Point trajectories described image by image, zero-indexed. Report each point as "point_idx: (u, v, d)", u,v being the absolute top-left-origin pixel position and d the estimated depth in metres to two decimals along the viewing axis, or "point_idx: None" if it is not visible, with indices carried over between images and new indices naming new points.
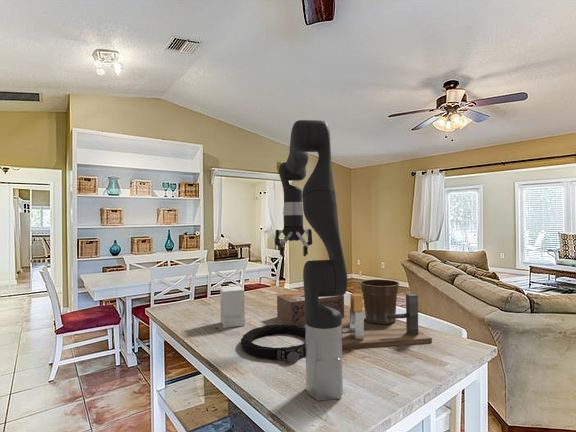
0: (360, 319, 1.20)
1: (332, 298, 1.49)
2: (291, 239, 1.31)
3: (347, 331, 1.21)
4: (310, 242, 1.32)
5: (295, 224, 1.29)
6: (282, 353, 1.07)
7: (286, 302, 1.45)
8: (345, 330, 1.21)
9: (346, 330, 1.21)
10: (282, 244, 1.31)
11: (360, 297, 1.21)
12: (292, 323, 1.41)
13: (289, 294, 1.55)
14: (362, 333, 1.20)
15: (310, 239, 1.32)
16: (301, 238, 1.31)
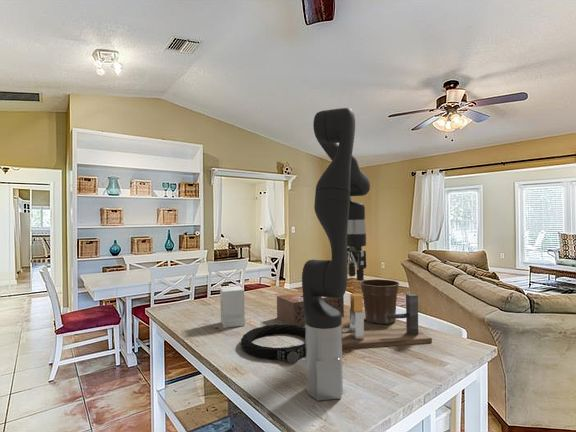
0: (360, 319, 1.20)
1: (332, 298, 1.50)
2: None
3: (347, 331, 1.21)
4: None
5: None
6: (282, 353, 1.07)
7: (288, 303, 1.44)
8: (345, 330, 1.21)
9: (346, 330, 1.21)
10: None
11: (360, 297, 1.21)
12: (295, 324, 1.40)
13: (289, 294, 1.54)
14: (362, 333, 1.20)
15: None
16: None
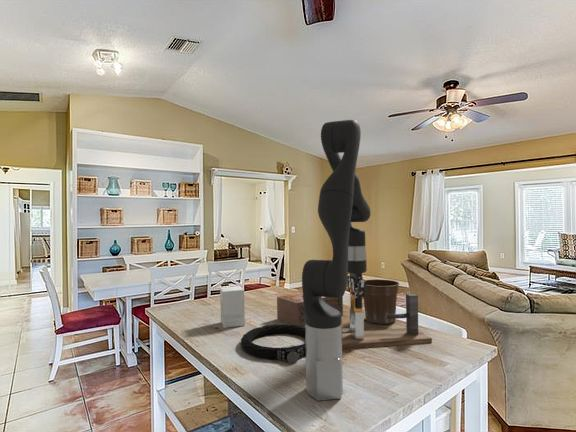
0: (360, 319, 1.20)
1: None
2: None
3: (347, 331, 1.21)
4: None
5: None
6: (282, 353, 1.07)
7: (291, 303, 1.43)
8: (345, 330, 1.21)
9: (346, 330, 1.21)
10: None
11: None
12: (298, 324, 1.40)
13: (288, 295, 1.53)
14: (362, 333, 1.20)
15: None
16: None
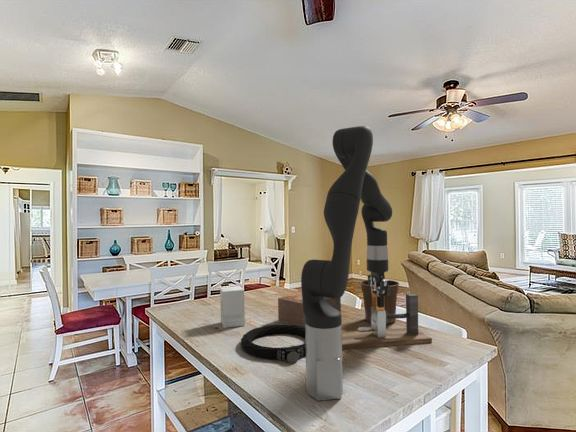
0: (382, 318, 1.21)
1: None
2: None
3: (369, 330, 1.22)
4: None
5: None
6: (282, 353, 1.07)
7: (295, 304, 1.41)
8: (367, 329, 1.22)
9: (368, 329, 1.22)
10: None
11: None
12: (304, 325, 1.39)
13: (289, 296, 1.52)
14: (384, 332, 1.21)
15: None
16: None
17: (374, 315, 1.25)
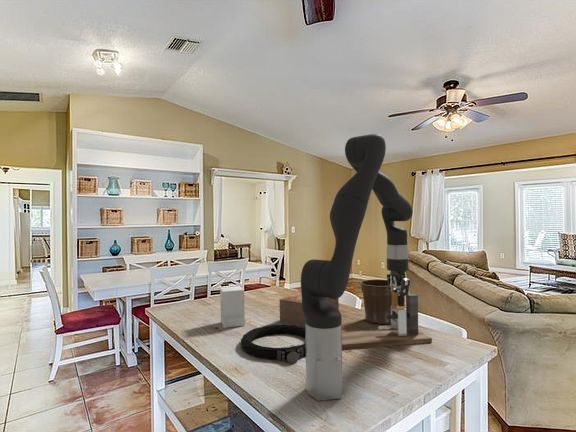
0: (403, 316, 1.22)
1: None
2: None
3: (389, 328, 1.24)
4: None
5: None
6: (282, 353, 1.07)
7: (299, 304, 1.41)
8: (387, 327, 1.24)
9: (388, 327, 1.24)
10: None
11: None
12: None
13: (289, 296, 1.50)
14: (405, 330, 1.22)
15: None
16: None
17: None
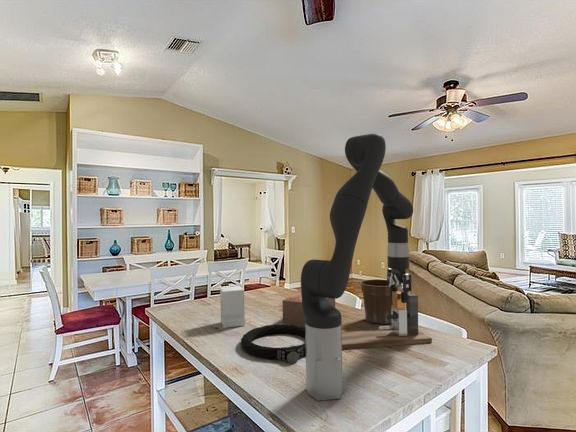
0: (403, 316, 1.22)
1: None
2: None
3: (390, 328, 1.24)
4: None
5: None
6: (282, 353, 1.07)
7: None
8: (388, 327, 1.24)
9: (389, 327, 1.24)
10: None
11: None
12: None
13: (290, 297, 1.49)
14: (405, 330, 1.22)
15: None
16: None
17: None
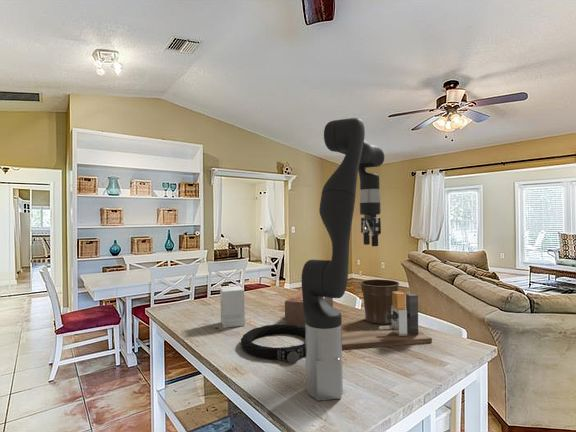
0: (403, 316, 1.22)
1: None
2: None
3: (390, 328, 1.24)
4: None
5: None
6: (282, 353, 1.07)
7: None
8: (388, 327, 1.24)
9: (389, 327, 1.24)
10: None
11: (403, 295, 1.23)
12: None
13: (292, 298, 1.48)
14: (405, 330, 1.22)
15: None
16: None
17: None
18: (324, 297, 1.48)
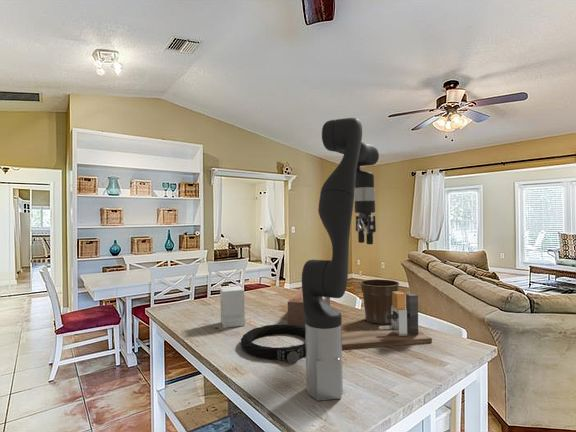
0: (403, 316, 1.22)
1: None
2: None
3: (390, 328, 1.24)
4: None
5: None
6: (282, 353, 1.07)
7: None
8: (388, 327, 1.24)
9: (389, 327, 1.24)
10: None
11: (403, 295, 1.23)
12: None
13: (293, 298, 1.47)
14: (405, 330, 1.22)
15: None
16: None
17: None
18: (325, 297, 1.49)
